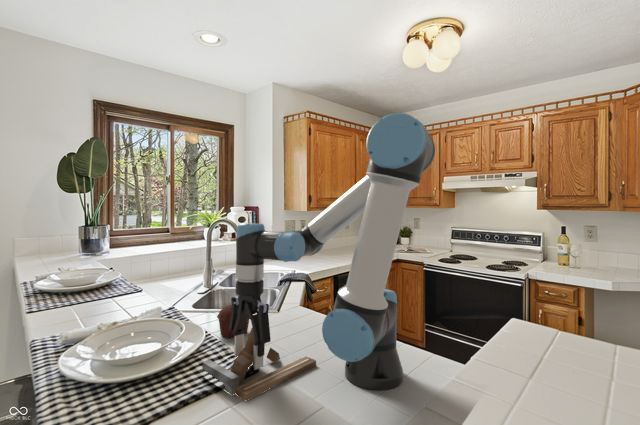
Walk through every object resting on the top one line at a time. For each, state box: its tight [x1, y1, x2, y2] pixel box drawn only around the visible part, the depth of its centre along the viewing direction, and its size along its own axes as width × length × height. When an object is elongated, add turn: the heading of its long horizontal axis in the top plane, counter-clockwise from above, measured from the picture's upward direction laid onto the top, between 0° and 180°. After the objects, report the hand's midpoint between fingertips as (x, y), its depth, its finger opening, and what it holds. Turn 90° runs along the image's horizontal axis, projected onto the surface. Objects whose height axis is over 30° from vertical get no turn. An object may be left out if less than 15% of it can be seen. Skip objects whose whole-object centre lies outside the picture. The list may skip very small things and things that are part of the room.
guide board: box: [202, 356, 317, 401], centre depth 88 cm, size 17×25×4 cm
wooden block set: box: [229, 326, 281, 385], centre depth 88 cm, size 18×9×10 cm, turn 156°
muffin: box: [216, 304, 250, 340], centre depth 116 cm, size 12×11×10 cm
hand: (248, 362), depth 90 cm, fingers closed on wooden block set, 8 cm apart
